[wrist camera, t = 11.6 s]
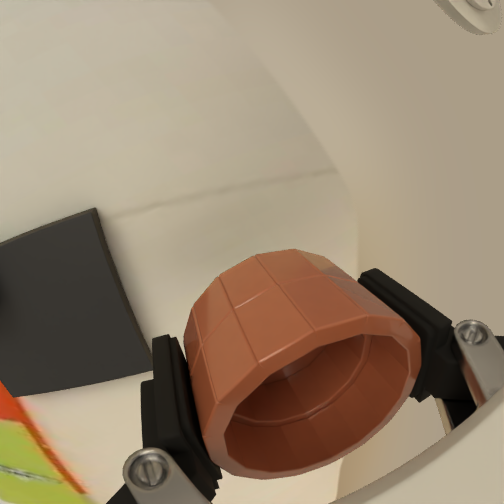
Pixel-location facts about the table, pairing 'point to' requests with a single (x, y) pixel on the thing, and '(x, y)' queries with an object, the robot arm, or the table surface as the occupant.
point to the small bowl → (294, 364)
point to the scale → (65, 311)
